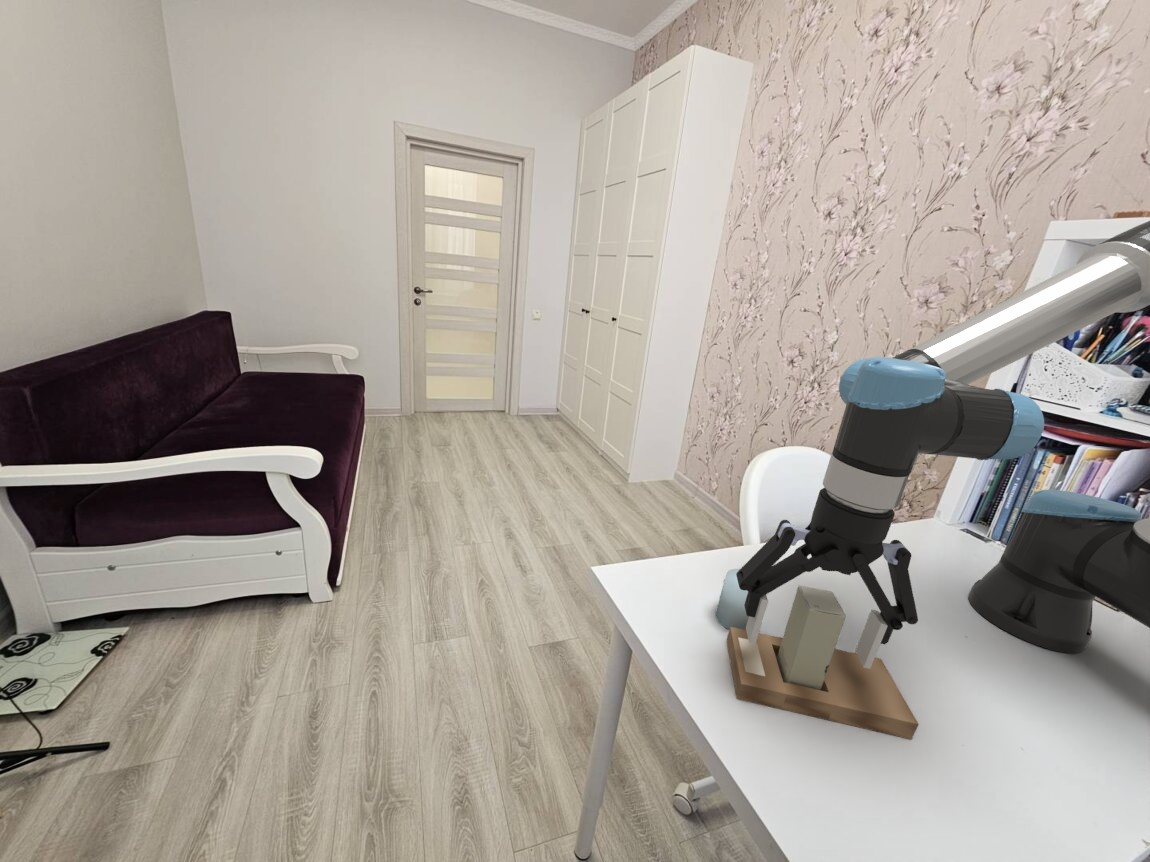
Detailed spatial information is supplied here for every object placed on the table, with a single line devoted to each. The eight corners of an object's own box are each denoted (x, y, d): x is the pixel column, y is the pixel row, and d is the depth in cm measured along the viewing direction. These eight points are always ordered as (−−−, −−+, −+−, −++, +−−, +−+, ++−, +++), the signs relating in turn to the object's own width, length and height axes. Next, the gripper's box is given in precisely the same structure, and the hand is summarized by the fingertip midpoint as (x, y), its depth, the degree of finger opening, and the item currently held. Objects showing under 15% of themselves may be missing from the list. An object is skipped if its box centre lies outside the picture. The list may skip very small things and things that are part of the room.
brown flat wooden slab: (875, 672, 65) (881, 658, 64) (911, 739, 55) (919, 723, 54) (726, 640, 67) (730, 626, 66) (736, 698, 58) (741, 683, 57)
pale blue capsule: (751, 610, 74) (762, 572, 72) (760, 637, 69) (772, 598, 66) (713, 602, 75) (723, 565, 72) (718, 629, 69) (729, 590, 67)
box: (817, 702, 59) (849, 618, 55) (781, 693, 59) (809, 610, 55) (806, 669, 64) (834, 590, 60) (772, 661, 64) (797, 583, 60)
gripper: (958, 503, 55) (897, 647, 62) (738, 465, 58) (703, 607, 65) (1002, 536, 48) (927, 695, 55) (748, 491, 51) (708, 647, 58)
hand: (805, 647), depth 60 cm, fingers open, 13 cm apart
